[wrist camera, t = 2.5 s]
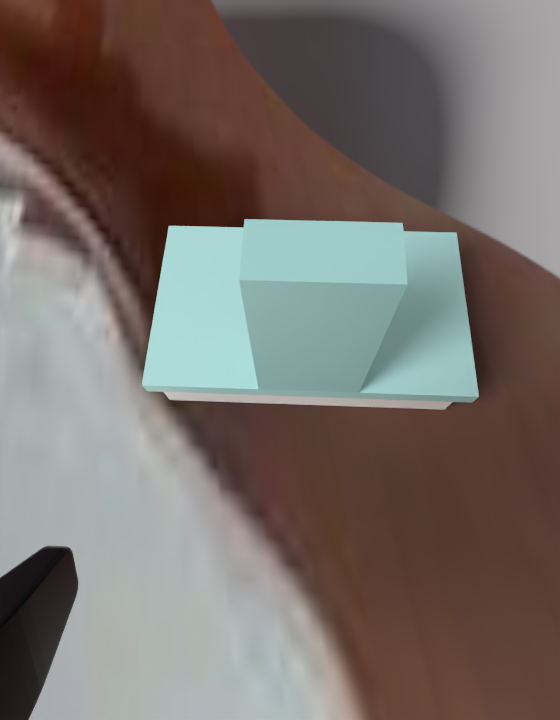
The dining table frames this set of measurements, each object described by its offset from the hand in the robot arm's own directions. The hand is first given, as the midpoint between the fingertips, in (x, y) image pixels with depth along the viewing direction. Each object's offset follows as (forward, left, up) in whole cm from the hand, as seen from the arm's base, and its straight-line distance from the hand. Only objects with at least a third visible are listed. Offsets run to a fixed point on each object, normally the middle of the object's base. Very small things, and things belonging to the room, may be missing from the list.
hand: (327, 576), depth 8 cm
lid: (+8, +8, -11) cm, 16 cm away
